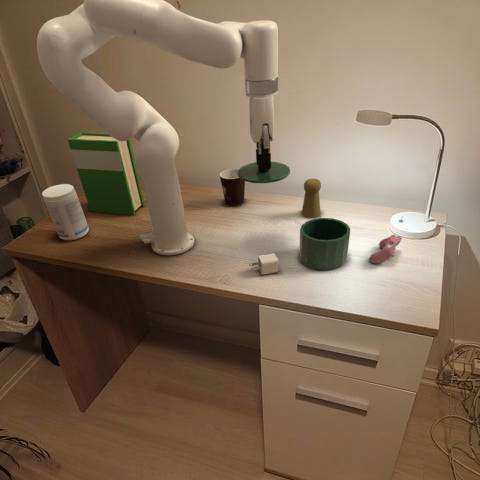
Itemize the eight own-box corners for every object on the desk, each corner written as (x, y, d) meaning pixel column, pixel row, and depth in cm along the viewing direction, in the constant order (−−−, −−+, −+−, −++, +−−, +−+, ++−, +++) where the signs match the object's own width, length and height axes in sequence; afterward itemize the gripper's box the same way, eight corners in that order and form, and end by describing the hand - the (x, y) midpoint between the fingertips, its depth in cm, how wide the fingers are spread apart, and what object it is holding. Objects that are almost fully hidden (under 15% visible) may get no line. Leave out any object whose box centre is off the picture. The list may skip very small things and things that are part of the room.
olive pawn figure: (320, 218, 130) (322, 184, 123) (300, 217, 131) (301, 184, 124) (321, 209, 134) (323, 176, 127) (302, 209, 135) (303, 176, 128)
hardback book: (144, 205, 145) (128, 134, 130) (134, 215, 140) (115, 141, 125) (102, 201, 150) (81, 132, 135) (90, 210, 145) (67, 139, 130)
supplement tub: (88, 224, 137) (73, 181, 128) (90, 237, 130) (75, 192, 121) (58, 231, 135) (41, 187, 125) (58, 244, 128) (41, 199, 118)
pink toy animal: (380, 271, 108) (397, 253, 103) (366, 260, 109) (382, 242, 104) (391, 253, 115) (408, 235, 109) (378, 243, 115) (393, 225, 110)
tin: (305, 272, 108) (306, 244, 102) (295, 248, 117) (295, 220, 112) (353, 267, 108) (356, 238, 103) (339, 243, 118) (341, 215, 112)
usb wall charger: (278, 273, 108) (278, 259, 106) (252, 277, 107) (251, 264, 105) (274, 265, 111) (273, 252, 109) (248, 269, 110) (248, 256, 108)
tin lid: (240, 188, 103) (239, 158, 98) (235, 168, 113) (233, 141, 109) (294, 182, 104) (295, 153, 99) (284, 163, 114) (284, 136, 109)
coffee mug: (247, 207, 139) (245, 178, 133) (221, 208, 140) (218, 179, 133) (247, 192, 148) (245, 164, 142) (223, 194, 148) (220, 166, 142)
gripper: (241, 81, 101) (245, 157, 113) (249, 96, 89) (253, 180, 101) (272, 78, 102) (272, 154, 113) (284, 93, 89) (283, 177, 101)
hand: (263, 166), depth 107 cm, fingers closed on tin lid, 2 cm apart
